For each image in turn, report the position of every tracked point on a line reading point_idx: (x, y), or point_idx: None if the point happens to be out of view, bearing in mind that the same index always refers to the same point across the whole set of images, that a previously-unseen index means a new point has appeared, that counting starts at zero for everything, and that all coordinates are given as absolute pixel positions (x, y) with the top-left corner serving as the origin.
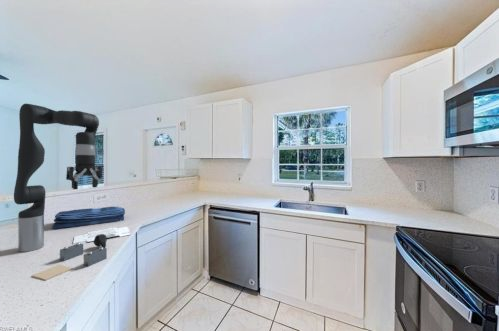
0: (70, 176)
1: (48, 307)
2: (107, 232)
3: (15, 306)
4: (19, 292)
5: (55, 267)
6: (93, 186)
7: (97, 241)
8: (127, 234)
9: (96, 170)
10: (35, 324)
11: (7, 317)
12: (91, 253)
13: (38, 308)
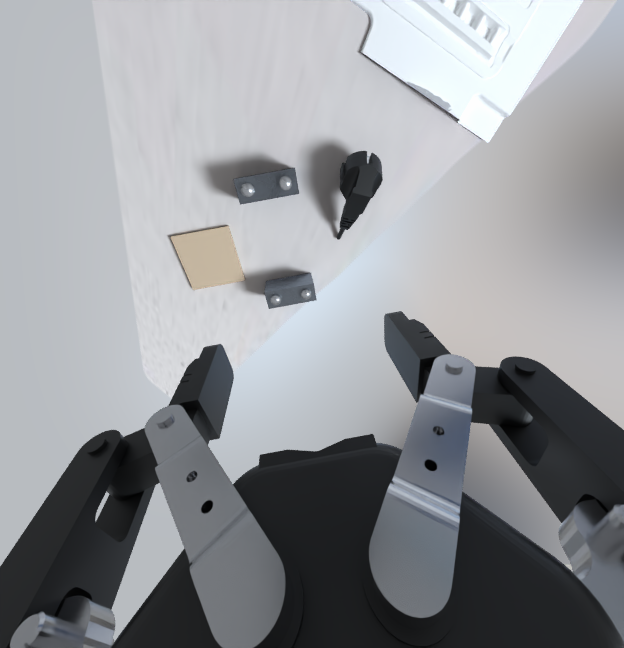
0: (112, 523)
1: None
2: (475, 7)
3: (151, 339)
4: (153, 295)
5: (217, 238)
6: (386, 329)
7: (345, 189)
8: (484, 127)
9: (564, 529)
10: None
11: (144, 359)
12: (278, 303)
13: (178, 369)
